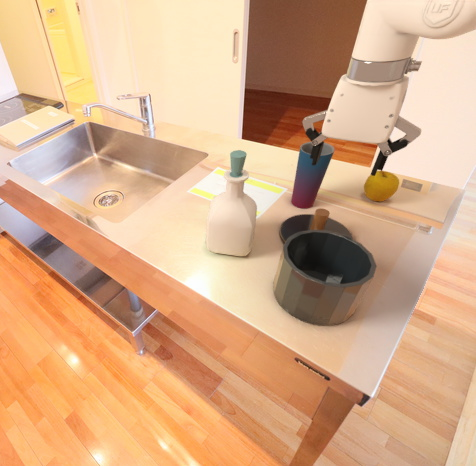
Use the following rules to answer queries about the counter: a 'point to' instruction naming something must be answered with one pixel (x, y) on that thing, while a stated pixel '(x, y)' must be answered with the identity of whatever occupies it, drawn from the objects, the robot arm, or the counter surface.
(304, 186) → the cup
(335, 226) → the lid
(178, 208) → the counter surface
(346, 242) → the pot
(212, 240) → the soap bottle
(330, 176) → the counter surface
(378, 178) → the apple
